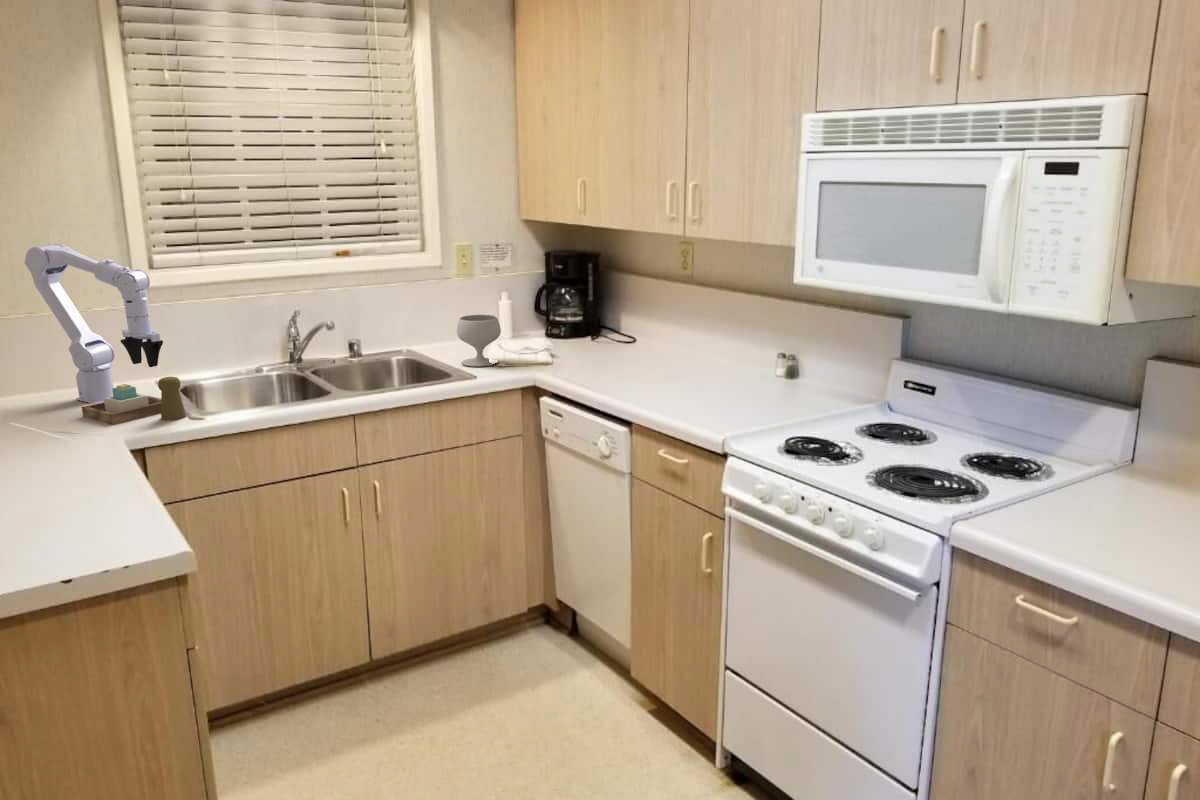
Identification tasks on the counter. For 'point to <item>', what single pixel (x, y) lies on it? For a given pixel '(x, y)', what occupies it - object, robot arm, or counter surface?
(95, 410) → the parts box
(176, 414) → the olive pepper mill
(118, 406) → the frame
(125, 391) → the plug
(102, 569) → the counter surface
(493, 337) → the chalice
